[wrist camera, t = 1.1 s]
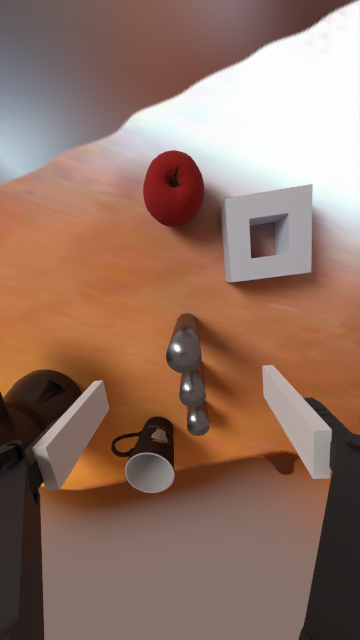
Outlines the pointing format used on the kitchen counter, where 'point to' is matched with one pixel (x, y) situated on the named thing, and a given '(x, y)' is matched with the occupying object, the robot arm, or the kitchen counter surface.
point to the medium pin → (192, 388)
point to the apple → (173, 188)
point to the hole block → (290, 233)
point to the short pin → (198, 420)
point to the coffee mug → (150, 456)
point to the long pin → (184, 345)
